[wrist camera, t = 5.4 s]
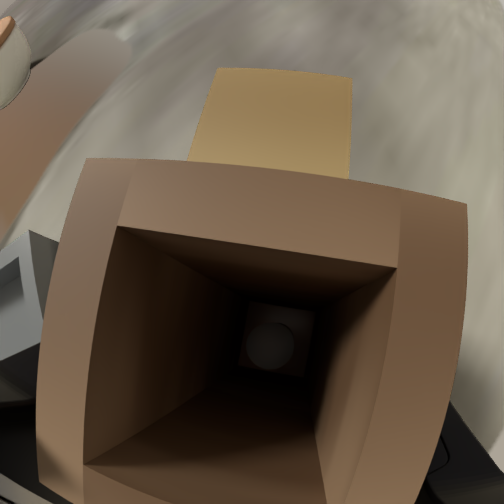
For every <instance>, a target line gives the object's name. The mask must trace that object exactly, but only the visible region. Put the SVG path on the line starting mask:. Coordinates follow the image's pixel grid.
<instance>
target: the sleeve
mask: <svg viewBox="0 0 504 504" xmlns="http://www.w3.org/2000/svg"><path fill="white" fill-rule="evenodd" d="M351 119H352V78H347V77H341V76H334V75H327V74H319V73H310V72H300V71H289V70H275V69H256V68H218V69H217V71H216V74H215V77H214V80H213V82H212V85H211V88H210V91H209V94H208V96H207V99H206V102H205V105H204V108H203V111H202V114H201V117H200V120H199V123H198V126H197V129H196V132H195V136H194V139H193V142H192V145H191V148H190V152H189V155H188V158H187V161H177V160H156V159H123V158H86V161H85V164H84V166H83V169H82V172H81V174H80V177H79V180H78V183H77V186H76V189H75V192H74V195H73V198H72V201H71V204H70V207H69V210H68V213H67V217H66V220H65V224H64V227H63V231H62V234H61V238H60V242H59V246H58V250H57V254H56V258H55V262H54V266H53V271H52V276H51V280H50V285H49V290H48V296H47V301H46V307H45V313H44V320H43V327H42V334H41V342H40V351H39V362H38V374H37V392H36V446H37V463H38V475H39V482H40V483H42V484H43V485H45V486H46V487H48V488H49V489H51V490H52V491H54V492H55V493H57V494H59V495H60V496H62V497H63V498H65V499H67V500H68V501H70V502H72V503H73V504H414V503H415V501H416V498H417V496H418V494H419V491H420V489H421V487H422V484H423V482H424V479H425V477H426V474H427V471H428V469H429V466H430V463H431V460H432V458H433V455H434V452H435V449H436V446H437V443H438V439H439V436H440V433H441V430H442V426H443V423H444V419H445V415H446V412H447V408H448V404H449V400H450V396H451V391H452V387H453V382H454V377H455V372H456V367H457V362H458V356H459V350H460V344H461V337H462V329H463V321H464V312H465V301H466V288H467V269H468V218H467V204H465V203H461V202H457V201H453V200H449V199H445V198H440V197H436V196H432V195H427V194H423V193H418V192H413V191H409V190H404V189H399V188H394V187H389V186H383V185H378V184H373V183H367V182H361V181H355V180H349V179H348V177H349V162H350V144H351ZM250 301H254V302H259V303H265V304H271V305H277V306H283V307H289V308H295V309H301V310H308V311H314V312H316V314H315V320H314V326H313V331H312V337H311V342H310V348H309V353H308V358H307V363H306V368H305V373H304V377H299V376H293V375H287V374H281V373H275V372H269V371H264V370H259V369H254V368H248V367H244V366H239V365H238V361H239V356H240V351H241V345H242V340H243V335H244V329H245V324H246V319H247V313H248V308H249V303H250Z"/></svg>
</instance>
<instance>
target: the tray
mask: <svg viewBox="0 0 504 504" xmlns="http://www.w3.org/2000/svg"><path fill="white" fill-rule="evenodd" d="M58 246H59V242H56V241H54V240H52V239H49V238H47V237H44V236H42V235H40V234H37V233H35V232H33V231H30V230H28V231H26V232H25V233H24V234H22V235H21V236H20V237H18V238H17V239H15V240H14V241H13V242H11V243H10V244H9V245H7V246H6V247H5V248H3V249H2V250H1V251H0V360H3V359H5V358H7V357H9V356H11V355H14V354H16V353H18V352H20V351H22V350H24V349H27V348H29V347H31V346H33V345H35V344H37V343H39V342H41V334H42V327H43V320H44V313H45V307H46V301H47V296H48V290H49V285H50V280H51V276H52V271H53V266H54V262H55V258H56V254H57V250H58Z"/></svg>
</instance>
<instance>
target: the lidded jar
mask: <svg viewBox="0 0 504 504" xmlns="http://www.w3.org/2000/svg"><path fill="white" fill-rule="evenodd" d="M30 64H31V50H30V46H29V43H28V41H27V39H26V37H25V35H24V33H23V32H22V31H21V29H20V28H19V27H18V26H17V24H16V23H15V20H14V19H13V18H12V17H11V16H8V17H5V18H3V19H1V20H0V110H1V109H3V108H5V107H6V106H7V105H8V104H10V103H11V102H12V101H13V100H14V99H15V98H16V96H17V95H18V94H19V93H20V92H21V90H22V89H23V87H24V86H25V84H26V82H27V81H28V79H29V76H30V69H29V68H30Z"/></svg>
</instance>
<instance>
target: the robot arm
mask: <svg viewBox="0 0 504 504" xmlns="http://www.w3.org/2000/svg"><path fill="white" fill-rule="evenodd" d="M39 351H40V342H39V343H37V344H35V345H33V346H31V347H29V348H27V349H24V350H22V351H20V352H18V353H16V354H14V355H11V356H9V357H7V358H5V359H3V360H0V504H73V503H72V502H70V501H68V500H67V499H65V498H63V497H62V496H60V495H59V494H57V493H55V492H54V491H52V490H51V489H49V488H48V487H46V486H45V485H43V484H42V483H40V482H39V475H38V463H37V446H36V392H37V374H38V362H39ZM414 504H504V473H503V472H502V471H501V470H500V469H499V468H498V466H497V465H496V464H495V462H494V461H493V460H492V458H491V457H490V456H489V454H488V453H487V452H486V450H485V449H484V448H483V446H482V445H481V444H480V442H479V441H478V440H477V438H476V437H475V436H474V434H473V433H472V432H471V430H470V429H469V428H468V426H467V425H466V424H465V422H464V421H463V419H462V418H461V416H460V415H459V414H458V412H457V411H456V409H455V408H454V406H453V405H452V403H451V402H450V400H449V404H448V408H447V412H446V415H445V419H444V423H443V426H442V430H441V433H440V436H439V439H438V443H437V446H436V449H435V452H434V455H433V458H432V460H431V463H430V466H429V469H428V471H427V474H426V477H425V479H424V482H423V484H422V487H421V489H420V491H419V494H418V496H417V498H416V501H415V503H414Z"/></svg>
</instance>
